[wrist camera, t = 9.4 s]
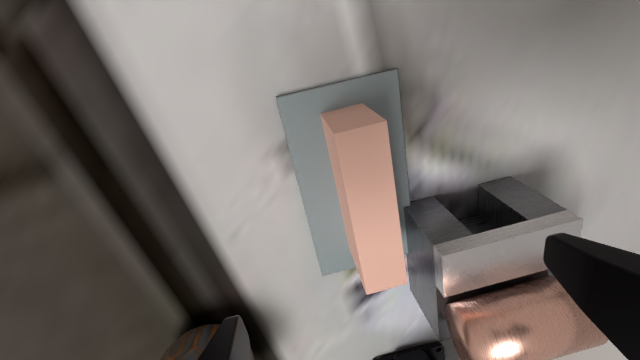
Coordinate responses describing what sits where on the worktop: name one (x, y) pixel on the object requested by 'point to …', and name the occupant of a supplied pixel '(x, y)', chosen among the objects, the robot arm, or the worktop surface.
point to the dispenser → (496, 276)
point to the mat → (315, 162)
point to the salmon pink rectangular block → (366, 194)
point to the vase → (193, 344)
